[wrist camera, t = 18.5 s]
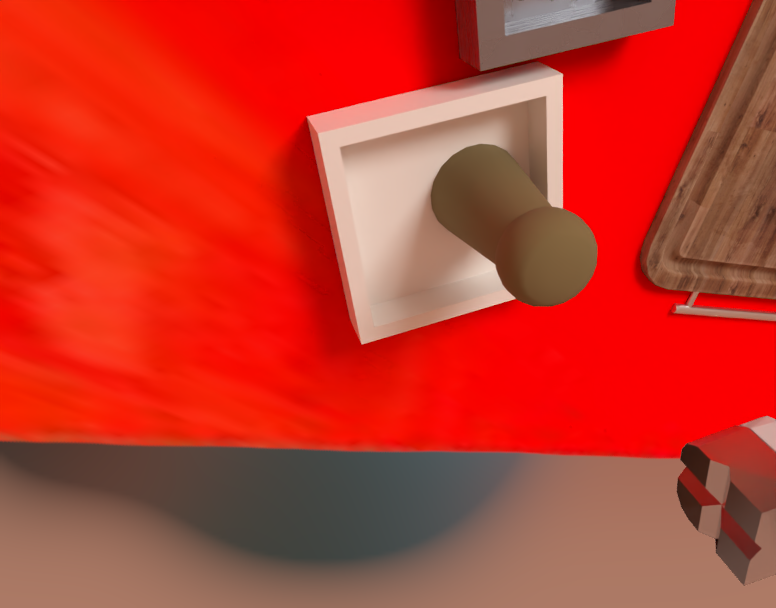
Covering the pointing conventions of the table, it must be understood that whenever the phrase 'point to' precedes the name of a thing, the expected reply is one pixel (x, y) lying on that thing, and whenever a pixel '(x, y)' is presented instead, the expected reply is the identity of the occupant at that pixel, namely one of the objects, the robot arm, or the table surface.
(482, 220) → the cork
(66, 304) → the table surface
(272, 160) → the table surface
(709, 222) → the chopping board
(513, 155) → the tray
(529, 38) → the grey square shallow box
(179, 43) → the table surface
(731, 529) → the robot arm
